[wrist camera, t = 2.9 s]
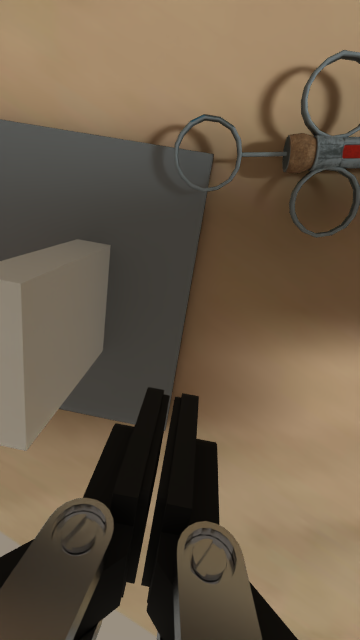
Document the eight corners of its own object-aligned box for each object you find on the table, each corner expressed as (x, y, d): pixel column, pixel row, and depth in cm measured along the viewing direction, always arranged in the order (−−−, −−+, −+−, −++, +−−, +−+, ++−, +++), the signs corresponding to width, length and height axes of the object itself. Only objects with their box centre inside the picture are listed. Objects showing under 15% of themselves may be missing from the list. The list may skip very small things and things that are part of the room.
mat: (213, 155, 17) (213, 154, 16) (166, 426, 23) (165, 430, 23) (-175, 92, 18) (-185, 89, 17) (-114, 368, 24) (-120, 371, 24)
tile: (110, 245, 18) (20, 283, 10) (102, 350, 21) (26, 450, 13) (72, 238, 18) (-48, 270, 10) (69, 344, 21) (-28, 439, 13)
